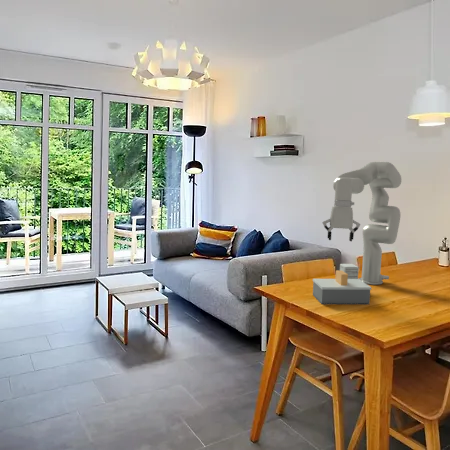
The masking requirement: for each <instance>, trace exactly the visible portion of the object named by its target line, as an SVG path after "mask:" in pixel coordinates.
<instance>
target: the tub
mask: <svg viewBox="0 0 450 450" xmlns="http://www.w3.org/2000/svg"><path fill="white" fill-rule="evenodd" d="M312 282H313V281H312ZM312 284H313V285H312V296H313V297H314V298H315V299H316V300H317V302H319V303H320V304H321V305H370V301H371V300H370V299H371V290H334V289H321V288H320V287H319V286H318V285H317V284H316V283H315V282H313V283H312Z"/></svg>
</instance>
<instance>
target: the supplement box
mask: <svg viewBox="0 0 450 450" xmlns="http://www.w3.org/2000/svg"><path fill="white" fill-rule="evenodd" d="M339 270H342V271H344V272H345V273H346V274H348V279H359V266H357V265H355V264H354V263H340V264H339Z"/></svg>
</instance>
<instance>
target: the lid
mask: <svg viewBox="0 0 450 450" xmlns="http://www.w3.org/2000/svg"><path fill="white" fill-rule="evenodd" d="M312 282H315V283H316V284H317V285H318V286H319V287H320V288H321V289H334V290H370V291H371V290H372V287H371V286H370V284H365V283H364V282H362V281H361V280H359V278H358V279H348V274H346V273H345V272H344V271H342V270H340V269H339V270H338V269H337V270H335V277H334V278H312Z"/></svg>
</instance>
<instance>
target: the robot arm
mask: <svg viewBox="0 0 450 450" xmlns="http://www.w3.org/2000/svg"><path fill="white" fill-rule="evenodd" d="M401 184H402V175H401V173H400V172H399V170H398V169H397V167H396V166H395V165H394V164H393V163H392V162H389V161H372V162H369V163H367V164H366V165H364V166H363V167H360V168H359V169H355V170H351V171H349V172H343V173H342V174H340V175H338V176H337V177H336V178H335V179H334V180H333V185H332V186H333V190H334V191H335V192H334V202H333V203H334V204H333V206H332V207H331V211H330V217H329V218H328V219H326V220H324V221H322V224H323V227H324V229H325V230H326V231H327V239H328V240H329V241H331V240H332V230H333V229H342V230H344V229H346V230H347V229H348V230H349V231H350V232H349V239H348V240H349V242H352V241H353V240H354V236H355V235H354V234H355V232H356V231H358V229H359V228H360V226H361V223H359V222H357V221H356V220H355V219H354V212H353V207H352V206H355V202H354V201H352V195H354V194H355V195H358V194H361V193H362V192H363V191H364V189H365V186H367V185H369V188H370V191H371V194H372V198H371V204H370V208H369V212H368V213H369V214H368V218H369V221H371V222H373V223H371V224H365V225H364V226H363V228H362V239H363V240H362V241H363V243H362V244H363V250H362V251H363V252H362V265H361V266H362V269H361V277H358V279H359V280H361V281H362V282H364V283H365V284H367V285H372V286H373V285H374V286H376V285H382V284H383V283H384V281H383V280H389V279H390V275H385V274H381V272H382V271H381V269H382V255H383V251H382V247H381V245H380V244H383V245H384V244H386V245H393V244H394V243H395V242H396V240H397V237H398V234H399V233H398V232H399V227H400V221H401V210H400V208H399V207H397V206H394V205H389V201H390V200H389V199H390V197H389V194H388V191H386V189H398V188H399V187H400V186H401ZM328 223H329V227H328V226H327V225H328ZM374 223H375V224H374ZM376 223H377V224H376ZM378 223H379V224H378ZM383 224H387V225H383ZM353 225H356V226H355V227H353Z"/></svg>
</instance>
